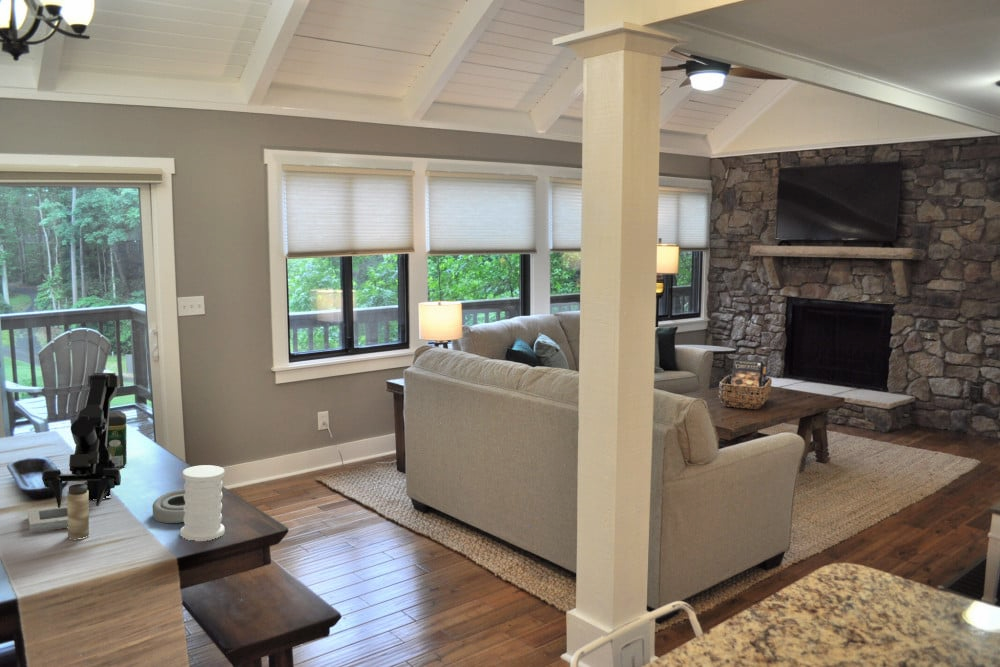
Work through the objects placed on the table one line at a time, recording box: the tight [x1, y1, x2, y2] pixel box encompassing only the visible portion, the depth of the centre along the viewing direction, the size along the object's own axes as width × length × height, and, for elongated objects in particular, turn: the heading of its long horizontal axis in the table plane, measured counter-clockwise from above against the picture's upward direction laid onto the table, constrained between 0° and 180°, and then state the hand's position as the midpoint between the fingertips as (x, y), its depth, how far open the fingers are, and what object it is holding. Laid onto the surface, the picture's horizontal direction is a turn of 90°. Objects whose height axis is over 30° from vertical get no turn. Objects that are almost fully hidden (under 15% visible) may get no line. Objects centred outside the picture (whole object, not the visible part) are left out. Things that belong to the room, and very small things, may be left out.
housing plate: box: [27, 504, 68, 534], centre depth 223 cm, size 12×12×2 cm
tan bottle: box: [66, 483, 90, 539], centre depth 214 cm, size 5×5×14 cm
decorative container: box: [179, 464, 226, 542], centre depth 221 cm, size 12×12×18 cm
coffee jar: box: [107, 410, 128, 469], centre depth 273 cm, size 10×8×19 cm
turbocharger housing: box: [152, 488, 185, 524], centre depth 235 cm, size 17×6×15 cm
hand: (78, 506), depth 213 cm, fingers open, 9 cm apart
